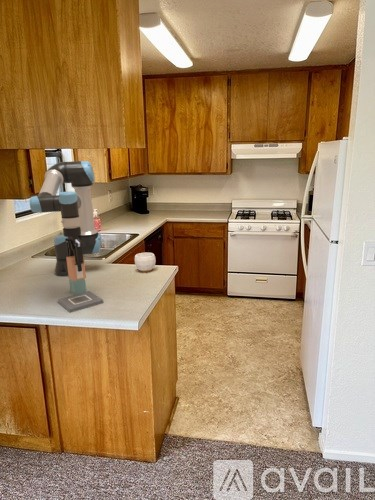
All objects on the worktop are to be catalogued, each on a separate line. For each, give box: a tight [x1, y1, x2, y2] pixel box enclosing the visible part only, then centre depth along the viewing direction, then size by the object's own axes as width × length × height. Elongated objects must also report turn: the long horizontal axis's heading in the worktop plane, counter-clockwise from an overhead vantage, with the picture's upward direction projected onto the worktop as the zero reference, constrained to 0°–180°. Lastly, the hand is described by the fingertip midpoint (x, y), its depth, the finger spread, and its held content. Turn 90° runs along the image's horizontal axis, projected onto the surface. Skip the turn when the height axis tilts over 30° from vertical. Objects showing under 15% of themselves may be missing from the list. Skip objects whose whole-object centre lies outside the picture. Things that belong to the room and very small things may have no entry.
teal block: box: [68, 277, 87, 295], centre depth 181 cm, size 6×6×10 cm
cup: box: [134, 252, 157, 273], centre depth 212 cm, size 12×12×10 cm
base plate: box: [56, 290, 104, 313], centre depth 167 cm, size 16×16×2 cm
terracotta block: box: [66, 256, 87, 281], centre depth 163 cm, size 6×6×10 cm
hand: (77, 276), depth 164 cm, fingers closed on terracotta block, 6 cm apart
